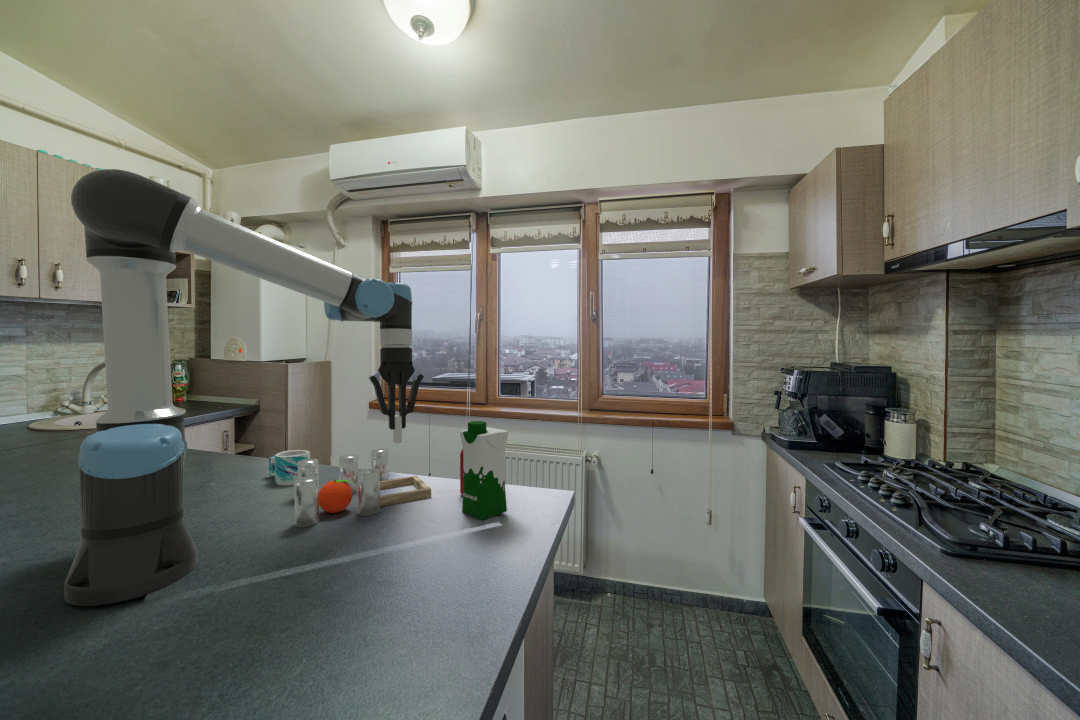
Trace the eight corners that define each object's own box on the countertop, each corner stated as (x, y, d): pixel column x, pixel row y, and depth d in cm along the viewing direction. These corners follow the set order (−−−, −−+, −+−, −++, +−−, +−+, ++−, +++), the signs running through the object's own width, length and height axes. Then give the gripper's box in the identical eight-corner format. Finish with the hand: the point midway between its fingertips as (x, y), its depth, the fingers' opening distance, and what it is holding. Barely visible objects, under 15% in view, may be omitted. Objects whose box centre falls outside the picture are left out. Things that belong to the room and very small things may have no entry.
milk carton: (456, 512, 94) (455, 421, 94) (487, 501, 101) (487, 417, 100) (481, 523, 88) (481, 426, 88) (513, 511, 95) (513, 421, 94)
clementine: (356, 503, 99) (356, 473, 99) (359, 513, 93) (359, 481, 93) (317, 509, 96) (317, 477, 96) (317, 520, 90) (317, 486, 90)
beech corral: (431, 497, 104) (431, 489, 104) (373, 507, 97) (373, 498, 97) (416, 483, 115) (416, 475, 115) (364, 491, 108) (364, 483, 108)
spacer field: (409, 508, 97) (409, 468, 96) (295, 529, 85) (294, 484, 85) (386, 480, 118) (386, 447, 117) (292, 494, 106) (292, 458, 106)
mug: (287, 490, 109) (287, 457, 109) (258, 484, 114) (258, 452, 114) (316, 481, 116) (316, 451, 116) (288, 476, 122) (287, 446, 122)
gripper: (418, 346, 112) (419, 436, 113) (365, 346, 105) (366, 442, 106) (427, 346, 106) (428, 441, 106) (371, 346, 99) (372, 448, 99)
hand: (397, 442), depth 106 cm, fingers closed
